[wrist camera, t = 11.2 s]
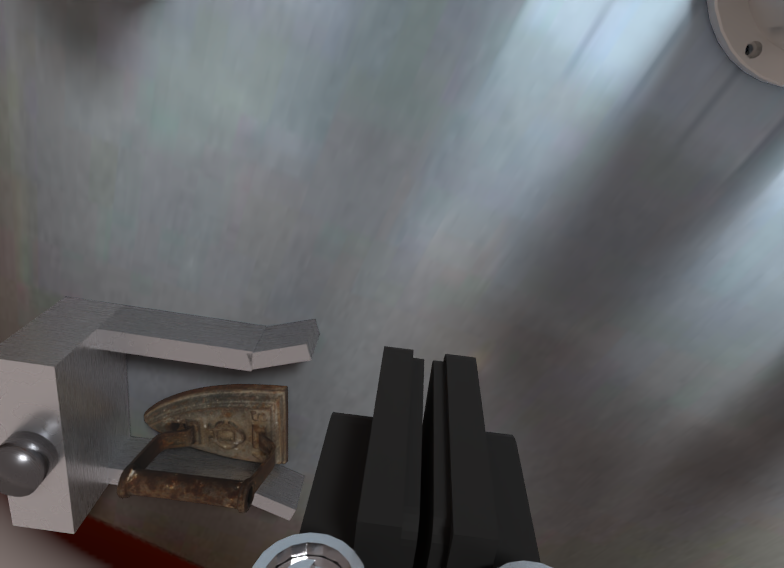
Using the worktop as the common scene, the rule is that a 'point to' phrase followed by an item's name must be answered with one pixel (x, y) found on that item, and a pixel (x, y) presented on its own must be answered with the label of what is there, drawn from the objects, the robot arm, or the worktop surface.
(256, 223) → the worktop surface
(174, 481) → the clothes iron
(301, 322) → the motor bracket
